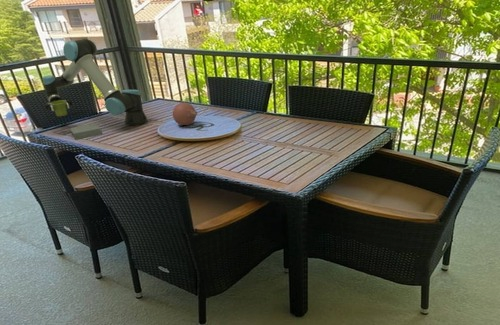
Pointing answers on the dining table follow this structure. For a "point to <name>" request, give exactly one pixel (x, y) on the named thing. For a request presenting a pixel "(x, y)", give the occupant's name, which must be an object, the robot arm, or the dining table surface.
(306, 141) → the dining table surface
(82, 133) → the block
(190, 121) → the brown egg-shaped ball
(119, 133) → the dining table surface
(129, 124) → the robot arm
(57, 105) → the plant pot
